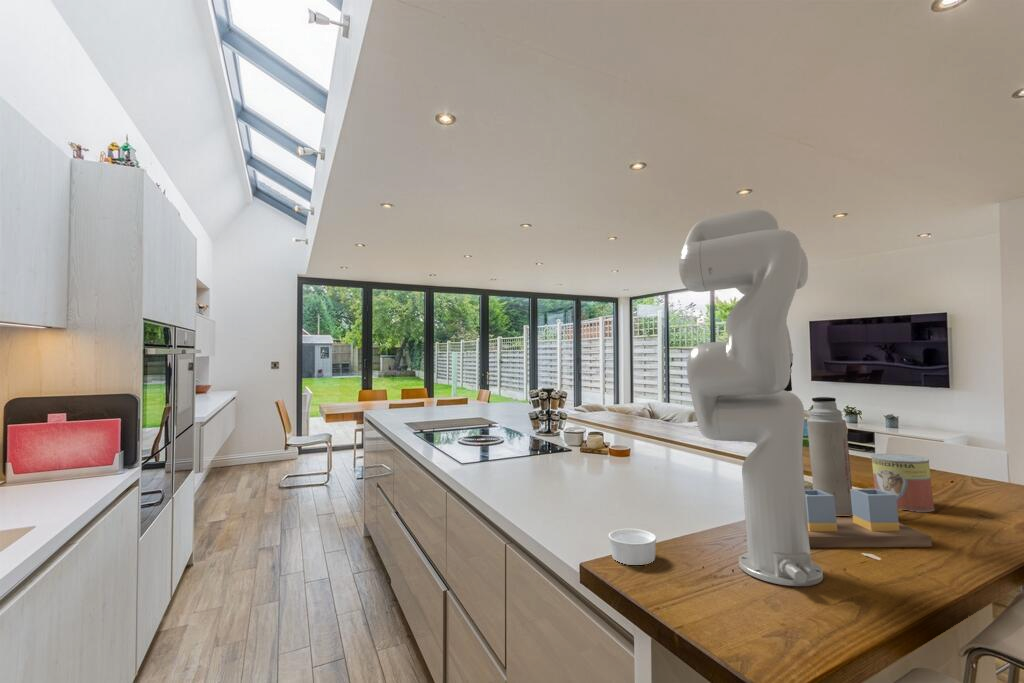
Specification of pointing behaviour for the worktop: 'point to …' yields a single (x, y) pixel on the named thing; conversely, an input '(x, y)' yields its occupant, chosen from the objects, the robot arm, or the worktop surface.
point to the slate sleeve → (874, 509)
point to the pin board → (867, 537)
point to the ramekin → (632, 546)
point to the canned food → (904, 480)
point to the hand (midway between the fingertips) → (773, 390)
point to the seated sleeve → (820, 511)
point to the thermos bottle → (830, 453)
